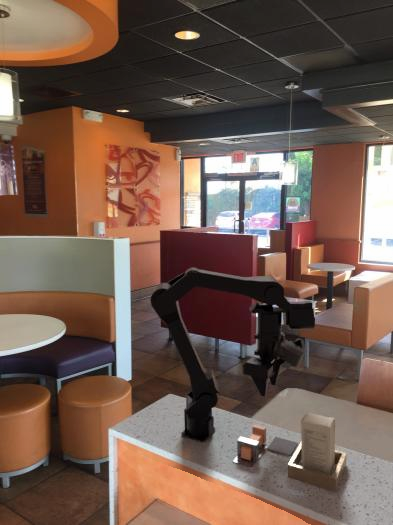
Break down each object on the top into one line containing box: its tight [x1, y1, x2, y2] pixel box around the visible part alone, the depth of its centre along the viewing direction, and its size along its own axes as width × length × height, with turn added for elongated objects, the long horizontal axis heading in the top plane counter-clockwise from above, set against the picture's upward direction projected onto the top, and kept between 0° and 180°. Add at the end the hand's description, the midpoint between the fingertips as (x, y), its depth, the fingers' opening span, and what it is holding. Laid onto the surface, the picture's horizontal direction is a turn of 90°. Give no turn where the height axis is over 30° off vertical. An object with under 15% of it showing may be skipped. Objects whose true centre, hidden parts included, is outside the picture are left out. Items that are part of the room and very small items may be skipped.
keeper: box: [232, 436, 268, 469], centre depth 102 cm, size 5×9×4 cm, turn 150°
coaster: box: [266, 436, 299, 458], centre depth 105 cm, size 6×6×1 cm
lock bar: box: [241, 424, 267, 460], centre depth 103 cm, size 3×9×4 cm, turn 150°
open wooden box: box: [286, 442, 348, 493], centre depth 95 cm, size 10×10×3 cm
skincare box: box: [300, 411, 336, 476], centre depth 95 cm, size 6×4×12 cm
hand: (268, 390), depth 110 cm, fingers open, 7 cm apart
